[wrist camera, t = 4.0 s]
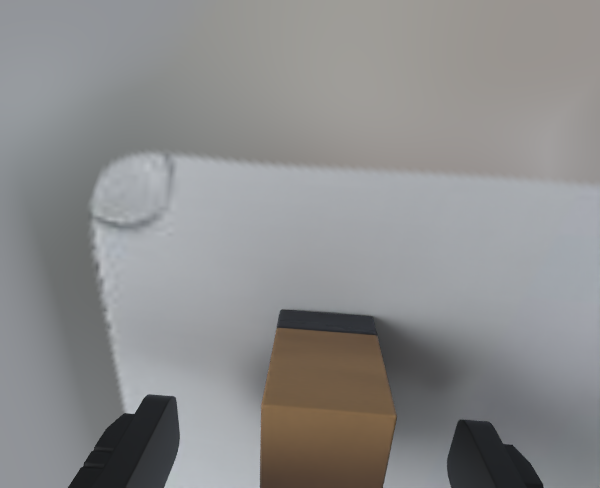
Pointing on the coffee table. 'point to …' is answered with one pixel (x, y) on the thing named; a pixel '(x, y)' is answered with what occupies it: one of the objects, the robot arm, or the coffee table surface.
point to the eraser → (326, 404)
